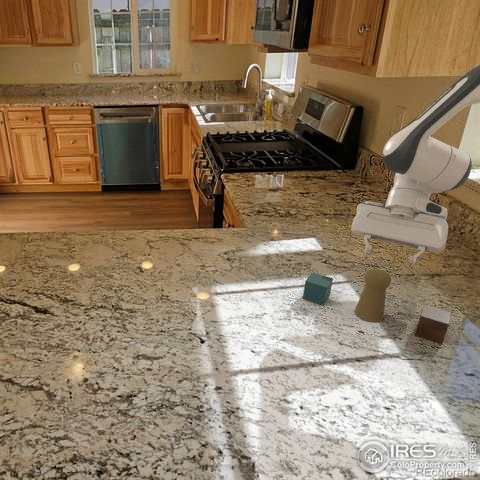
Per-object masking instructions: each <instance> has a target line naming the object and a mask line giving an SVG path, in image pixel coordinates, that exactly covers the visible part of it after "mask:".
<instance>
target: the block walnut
mask: <svg viewBox="0 0 480 480" xmlns="http://www.w3.org/2000/svg"><path fill="white" fill-rule="evenodd" d="M451 317H452V312H451V311H448V310H443V309H440V308H437V307H434V306H432V305H431V306H430V305H428V304H423V306H422V308H421V312H420V315H419V318H418V322H417V326H416V328H415V332H414V336H415V337H418V338H423V339H426V340H429V341H432V342H435V343H437V344H441V345H443V343H444V340H445V338H446V334H447V331H448V328H449V325H450V322H451Z"/></svg>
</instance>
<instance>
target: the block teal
mask: <svg viewBox="0 0 480 480" xmlns="http://www.w3.org/2000/svg"><path fill="white" fill-rule="evenodd" d="M333 282H334V278H333V277H330V276H326V275H323V274H320V273H316V272H311V273H310V275H309V276H308V277H307V278H306V279H305V281H304V288H303V294H302V300H305V301H309V302H312V303H315V304H317V305H320V306H325V304H326V303H327V301H328V299H329V298H330V297H331V291H332V287H333Z"/></svg>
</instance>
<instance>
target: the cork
mask: <svg viewBox="0 0 480 480" xmlns="http://www.w3.org/2000/svg"><path fill="white" fill-rule="evenodd" d="M363 277H364V278H363V280H364V283H365V284H364V286H363V289H362V292H361V293H360V297H359V299H358V302H357V303H356V306H355V309H354V314H355V316H356V317H357V318H359V319H361V320H362V321H364V322H365V321H366V322H369V323H380V322H382V321H383V320H384V318H385V306H386V295H387V289H388V288H389V287H390V285H391V282H392V277H391V275H390V274H389V273H388V272H387V271H386V270H383V269H379V268H372V269H368V270H367V271H366V272H365V274H364V276H363Z"/></svg>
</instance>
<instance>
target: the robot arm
mask: <svg viewBox="0 0 480 480" xmlns="http://www.w3.org/2000/svg"><path fill="white" fill-rule="evenodd" d="M477 104H480V64H479V65H476V66H475V67H473V68H471V69H469V70H468V71H467V72H466V73H465V74H463V75H462V76H461V77H460V78H458V79H457V80H456V81H455V82H453V84H452V85H450V86H449V87H448V88H447V89H446V90H445V91H444V92H442V93H441V94H440V95H439V96H437V98H436V99H434V101H432V103H430V104H429V105H428V106H427V107H426V108H424V110H422V111H421V112H420V113H419V114H418V115H417V116H415V118H414V119H413V120H411V121H410V122H409V123H407V124H406V125H405V126H403V127H402V128H400V129H399V130H398V131H396V132H395V133H394V134H393V135H391V137H390V138H389V139H388V140H387V141H386V143H385V144H384V145H383V148H382V150H381V151H382V152H381V156H382V161H383V163H384V166H385V168H386V169H387V171H390V172H393V173H395V175H394V177H393V186H392V187H391V188H390V190H389V192H388V195H387V198H386V201H385V203H381V202H374V201H370V200H366V201H363V202H360V203H358V205H357V207H356V211H355V217H354V218H353V220H352V223H351V225H350V229H351V232H352V234H353V235H355V236H358V237H363V242H364V246H365V248H364V251H363V254H364V255H367V256H371V255H372V253H373V250H374V247H373V246H371V245H370V244H369V243H370V242H371V240H376V241H380V242H384V243H388V244H393V245H397V246H402V247H407V248H410V249H411V248H412V249H415V250H417V252H416V253H415V254H414V255H409V256H408V260H407V265H409V266H412V267H415V266H416V263H417V260H418V259H420V258H421V257H423V256H424V255H425V252H430V253H433V254H442V252H444V250H445V248H446V246H447V245H446V244H447V240H448V232H449V224H448V222H447V218H448V213H449V212H448V209H447V208H446V207H445V206H442V205H440V204H438V203H435V202H433V201H432V200H430V197H431V195H432V194H442V193H447V192H449V191H450V192H451V191H453V190H457V189H458V188H461V187H462V186H464V185H465V183H466V182H467V181H468V179H469V177H470V174H471V171H472V167H473V166H472V165H473V162H472V158H471V156H470V154H468V153H466V152H465V151H463V150H461V149H459V148H457V147H455V146H453V145H450V144H447V143H445V142H443V141H441V140H438V139H437V138H434V137H432V135H433V134H434V133H436V132H437V131H438V130H439V129H441V127H442V126H444V125H445V124H446V123H447V122H449V121H450V120H451V119H452V118H454V116H456V115H457V114H458V113H459V112H460V111H461V110H464V109H465V108H468V107H469V106H473V105H477Z"/></svg>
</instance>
